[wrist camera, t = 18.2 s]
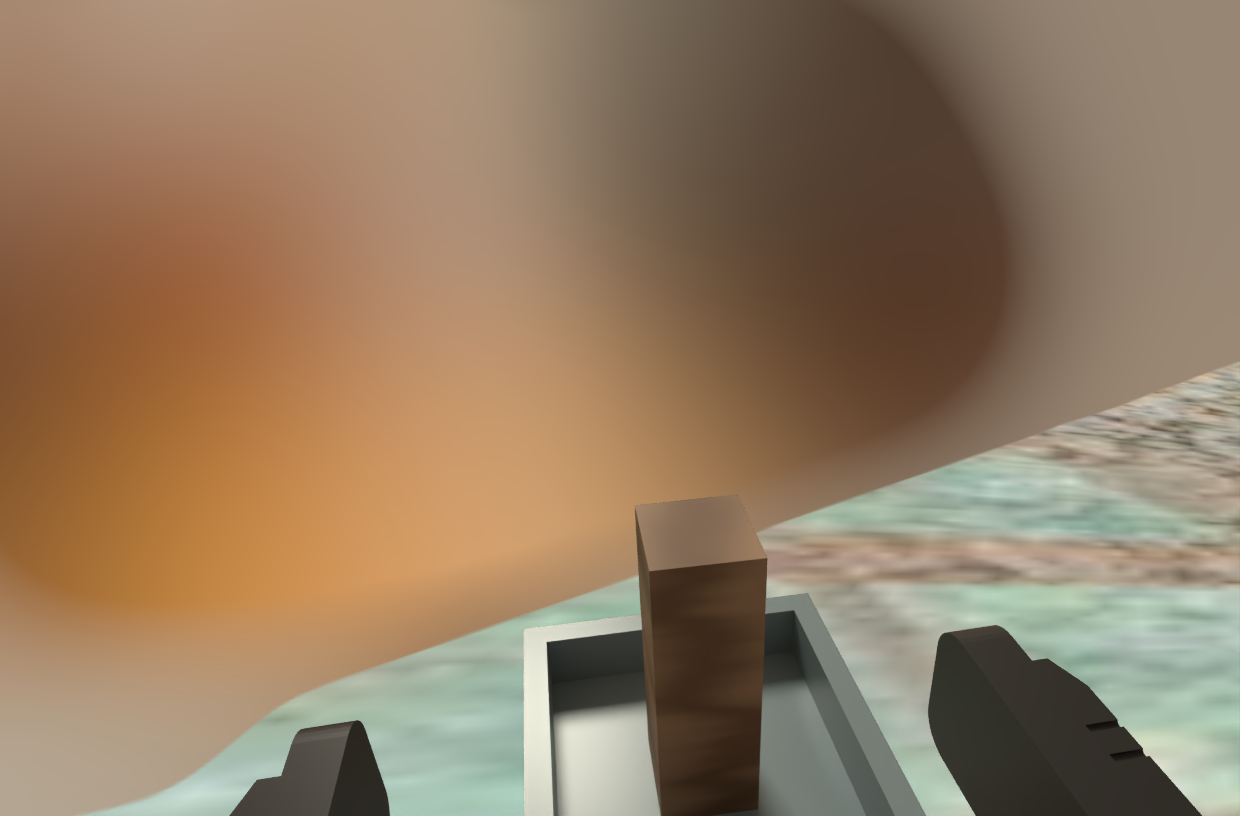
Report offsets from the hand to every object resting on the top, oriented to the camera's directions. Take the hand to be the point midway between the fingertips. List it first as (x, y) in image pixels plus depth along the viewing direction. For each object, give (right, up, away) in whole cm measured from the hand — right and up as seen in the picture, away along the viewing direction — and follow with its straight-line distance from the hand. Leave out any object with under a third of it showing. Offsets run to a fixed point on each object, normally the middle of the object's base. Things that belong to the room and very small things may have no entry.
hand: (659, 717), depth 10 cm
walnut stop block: (+3, -13, +25) cm, 28 cm away
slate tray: (+3, -14, +25) cm, 29 cm away
